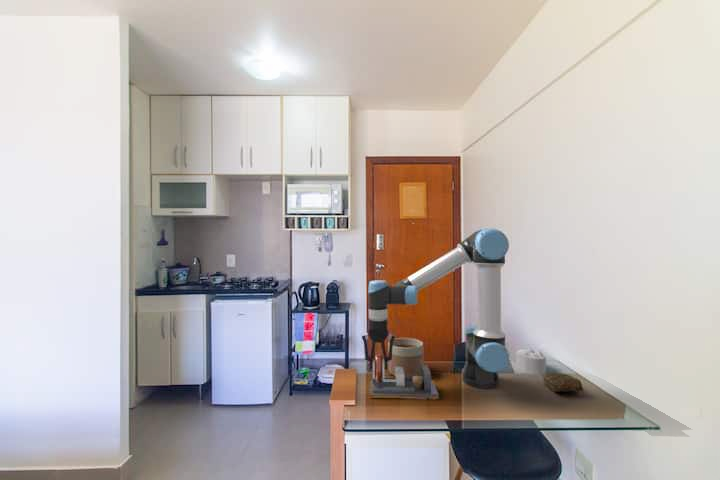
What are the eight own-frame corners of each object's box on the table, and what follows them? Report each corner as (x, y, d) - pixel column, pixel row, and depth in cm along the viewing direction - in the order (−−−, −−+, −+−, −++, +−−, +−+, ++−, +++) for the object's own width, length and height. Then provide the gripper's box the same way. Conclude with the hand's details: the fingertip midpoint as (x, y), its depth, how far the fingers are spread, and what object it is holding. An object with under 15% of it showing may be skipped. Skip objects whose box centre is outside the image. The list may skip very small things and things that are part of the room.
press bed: (432, 385, 138) (432, 363, 139) (438, 399, 125) (438, 375, 126) (370, 384, 140) (370, 362, 140) (370, 398, 127) (369, 374, 127)
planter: (384, 376, 148) (383, 345, 148) (394, 364, 163) (394, 336, 163) (419, 381, 142) (418, 349, 142) (426, 368, 157) (426, 339, 157)
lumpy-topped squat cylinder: (532, 363, 162) (531, 346, 162) (552, 373, 149) (552, 354, 150) (513, 365, 160) (513, 347, 160) (532, 375, 147) (532, 356, 147)
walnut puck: (422, 384, 134) (422, 375, 134) (423, 388, 130) (423, 379, 130) (412, 384, 134) (412, 375, 135) (413, 388, 130) (413, 379, 131)
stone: (567, 384, 139) (565, 369, 140) (585, 396, 125) (583, 380, 126) (541, 384, 140) (540, 370, 141) (557, 397, 126) (555, 381, 127)
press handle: (402, 381, 137) (402, 352, 137) (404, 390, 128) (404, 359, 129) (374, 381, 137) (374, 352, 138) (374, 389, 129) (374, 359, 129)
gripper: (397, 317, 137) (398, 374, 137) (358, 316, 138) (358, 373, 137) (398, 321, 129) (399, 381, 129) (357, 321, 130) (357, 381, 130)
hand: (378, 377), depth 133 cm, fingers closed on press handle, 3 cm apart
